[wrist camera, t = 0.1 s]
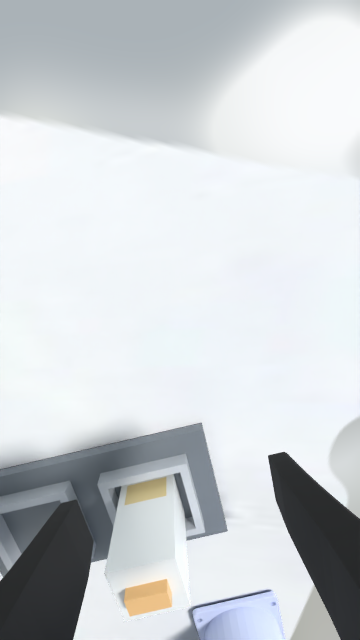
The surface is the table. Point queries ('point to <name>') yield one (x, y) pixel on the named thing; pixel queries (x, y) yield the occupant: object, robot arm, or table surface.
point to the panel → (108, 488)
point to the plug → (149, 550)
